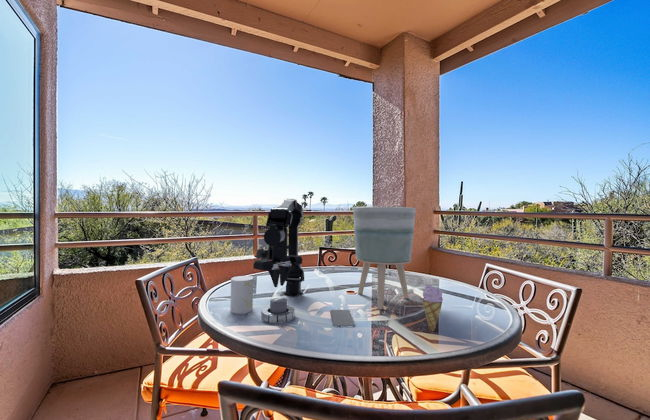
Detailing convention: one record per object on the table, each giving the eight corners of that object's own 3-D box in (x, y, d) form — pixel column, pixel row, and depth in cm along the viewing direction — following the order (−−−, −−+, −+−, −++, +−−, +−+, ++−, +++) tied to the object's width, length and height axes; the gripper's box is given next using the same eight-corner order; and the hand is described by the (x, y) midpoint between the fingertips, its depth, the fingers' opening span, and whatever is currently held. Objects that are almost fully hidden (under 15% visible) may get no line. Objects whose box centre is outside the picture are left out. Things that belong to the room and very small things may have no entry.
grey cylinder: (246, 314, 104) (247, 281, 104) (226, 312, 106) (226, 280, 106) (256, 307, 112) (256, 276, 112) (237, 305, 114) (237, 275, 114)
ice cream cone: (418, 326, 96) (419, 281, 96) (435, 325, 97) (436, 281, 97) (426, 334, 90) (427, 286, 90) (445, 334, 90) (446, 286, 90)
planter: (418, 297, 130) (420, 208, 130) (406, 315, 106) (408, 207, 106) (363, 288, 142) (365, 207, 142) (341, 303, 118) (343, 206, 119)
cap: (278, 313, 106) (279, 295, 106) (290, 316, 103) (290, 298, 103) (266, 317, 102) (266, 298, 102) (277, 321, 98) (278, 302, 98)
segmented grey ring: (279, 309, 110) (279, 302, 110) (300, 316, 103) (301, 309, 103) (254, 317, 101) (255, 310, 101) (276, 326, 94) (277, 318, 94)
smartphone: (332, 325, 94) (329, 309, 109) (332, 328, 94) (329, 312, 109) (355, 325, 95) (349, 309, 110) (355, 328, 95) (349, 312, 110)
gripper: (283, 239, 115) (282, 278, 114) (243, 242, 100) (243, 287, 100) (303, 241, 108) (302, 282, 108) (264, 245, 93) (263, 293, 93)
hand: (278, 286), depth 102 cm, fingers open, 3 cm apart
